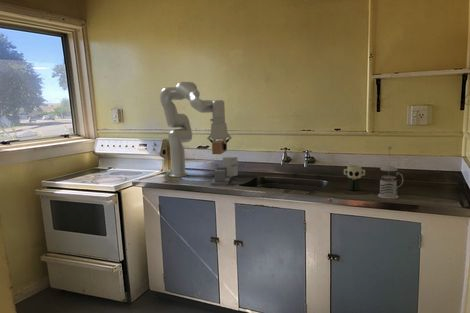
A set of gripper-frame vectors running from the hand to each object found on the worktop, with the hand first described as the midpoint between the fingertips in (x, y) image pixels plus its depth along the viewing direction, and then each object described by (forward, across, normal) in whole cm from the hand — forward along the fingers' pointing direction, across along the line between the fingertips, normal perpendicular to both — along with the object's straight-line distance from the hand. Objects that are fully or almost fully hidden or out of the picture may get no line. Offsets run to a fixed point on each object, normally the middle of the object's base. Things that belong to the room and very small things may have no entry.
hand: (219, 149), depth 233 cm
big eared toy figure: (+21, +75, -26) cm, 82 cm away
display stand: (+20, 0, 0) cm, 20 cm away
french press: (+21, +89, -40) cm, 100 cm away
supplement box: (+20, +4, +19) cm, 28 cm away
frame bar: (+2, 0, 0) cm, 2 cm away
